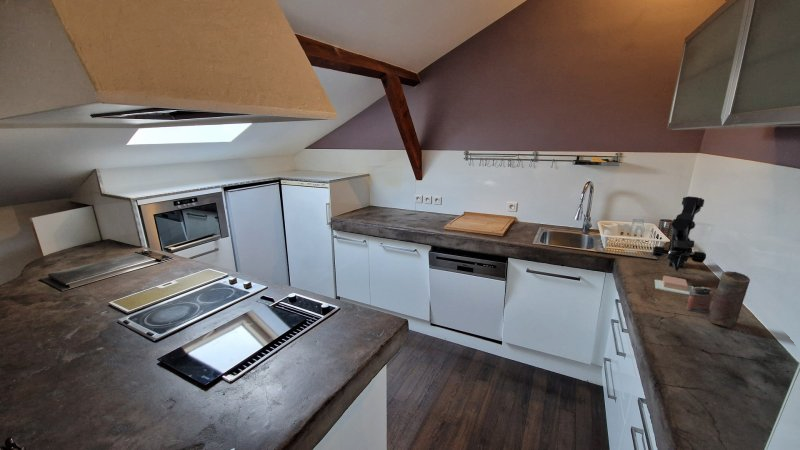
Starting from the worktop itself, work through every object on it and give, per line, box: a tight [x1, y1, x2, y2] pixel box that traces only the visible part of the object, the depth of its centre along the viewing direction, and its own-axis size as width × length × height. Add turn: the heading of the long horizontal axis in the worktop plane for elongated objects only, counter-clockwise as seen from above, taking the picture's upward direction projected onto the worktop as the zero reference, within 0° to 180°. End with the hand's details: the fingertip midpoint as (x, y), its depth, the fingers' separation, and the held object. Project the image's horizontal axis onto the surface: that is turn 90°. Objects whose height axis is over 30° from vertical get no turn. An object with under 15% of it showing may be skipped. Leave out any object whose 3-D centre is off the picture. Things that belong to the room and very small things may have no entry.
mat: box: [654, 279, 694, 296], centre depth 149 cm, size 10×14×1 cm
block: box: [662, 275, 689, 291], centre depth 150 cm, size 2×8×8 cm
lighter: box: [685, 286, 714, 313], centre depth 130 cm, size 8×3×10 cm, turn 84°
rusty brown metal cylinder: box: [707, 270, 751, 328], centre depth 119 cm, size 8×7×20 cm
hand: (676, 270), depth 151 cm, fingers closed
